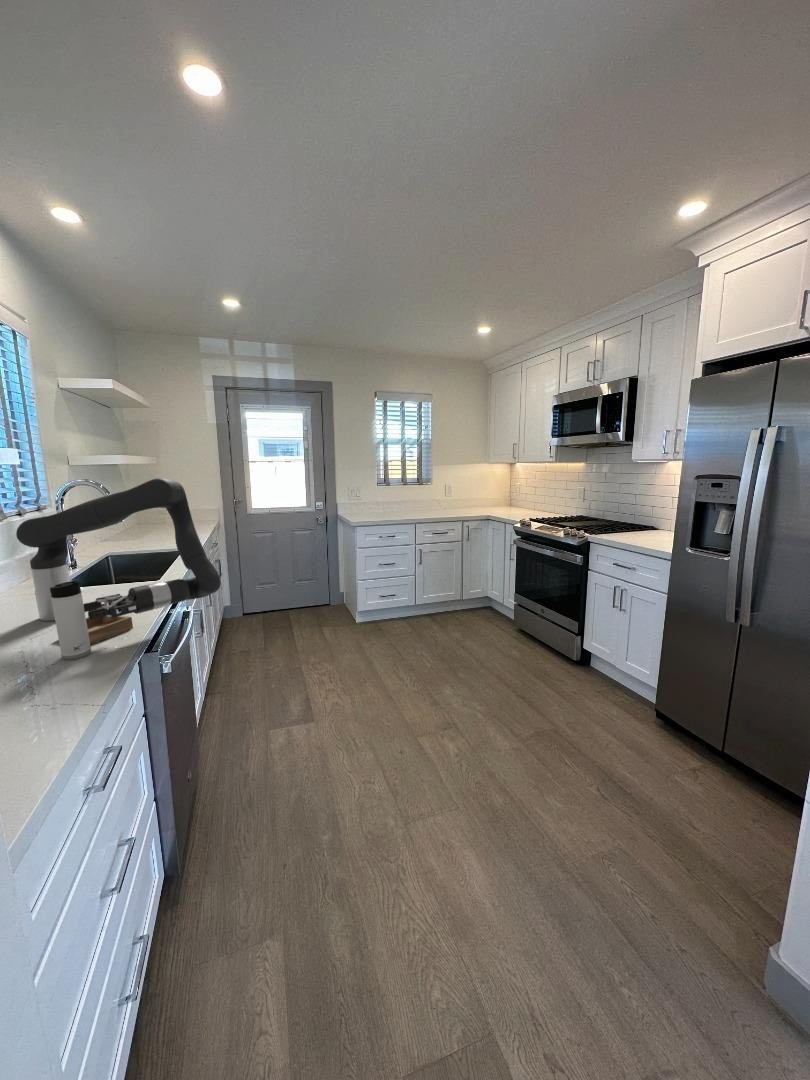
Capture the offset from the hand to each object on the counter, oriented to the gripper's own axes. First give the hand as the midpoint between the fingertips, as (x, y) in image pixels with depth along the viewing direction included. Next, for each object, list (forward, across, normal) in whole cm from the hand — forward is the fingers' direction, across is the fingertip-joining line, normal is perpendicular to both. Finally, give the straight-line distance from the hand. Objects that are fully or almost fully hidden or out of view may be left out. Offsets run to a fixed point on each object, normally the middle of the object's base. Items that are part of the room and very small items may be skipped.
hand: (84, 612), depth 117 cm
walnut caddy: (-5, -13, +11) cm, 18 cm away
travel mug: (+3, 0, +11) cm, 12 cm away
